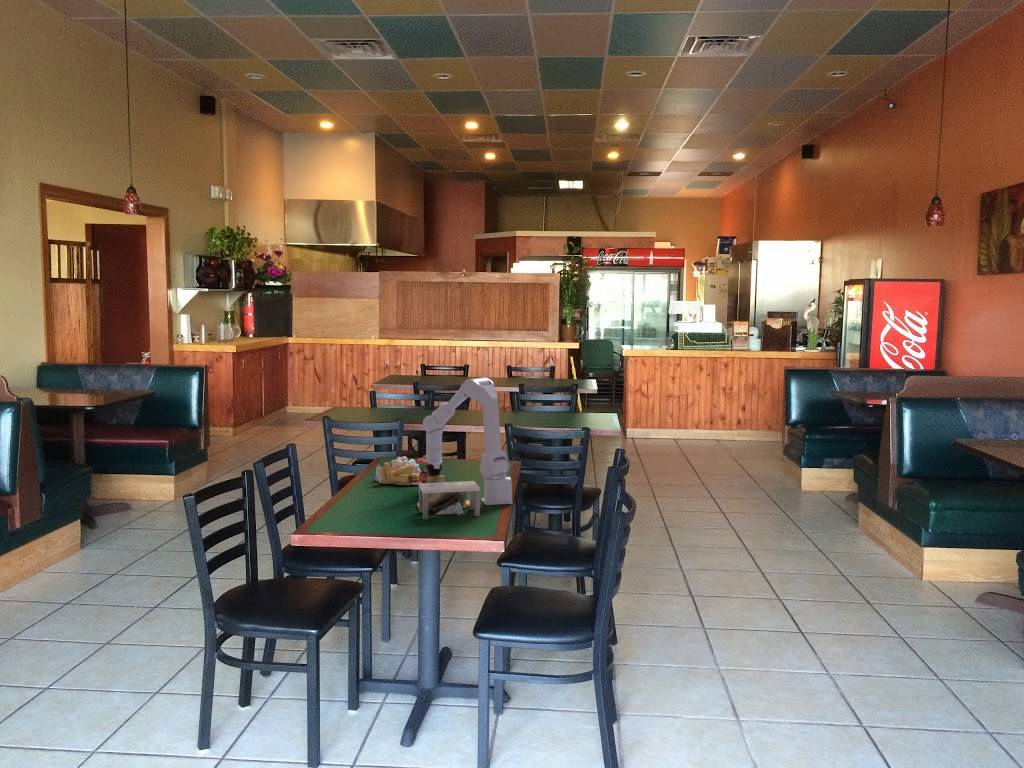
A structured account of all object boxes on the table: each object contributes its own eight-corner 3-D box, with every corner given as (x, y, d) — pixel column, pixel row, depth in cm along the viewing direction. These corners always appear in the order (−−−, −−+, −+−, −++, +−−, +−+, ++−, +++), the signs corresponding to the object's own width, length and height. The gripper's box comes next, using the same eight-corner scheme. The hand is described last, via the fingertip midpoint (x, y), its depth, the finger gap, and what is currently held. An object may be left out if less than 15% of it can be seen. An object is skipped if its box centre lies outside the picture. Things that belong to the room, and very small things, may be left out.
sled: (453, 491, 298) (453, 474, 297) (465, 507, 274) (465, 490, 274) (417, 492, 295) (417, 476, 294) (427, 509, 271) (427, 492, 270)
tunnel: (473, 508, 275) (474, 481, 274) (480, 516, 265) (480, 487, 264) (419, 511, 271) (419, 483, 270) (423, 519, 261) (423, 490, 260)
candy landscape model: (432, 487, 306) (432, 463, 306) (370, 487, 307) (370, 463, 306) (440, 473, 331) (440, 451, 330) (382, 473, 332) (382, 450, 331)
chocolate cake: (429, 518, 265) (455, 493, 263) (426, 507, 271) (452, 483, 270) (449, 534, 269) (475, 510, 267) (445, 522, 275) (471, 499, 274)
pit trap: (469, 503, 282) (469, 500, 282) (472, 507, 276) (472, 504, 276) (417, 506, 277) (417, 502, 277) (419, 510, 272) (419, 506, 272)
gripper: (420, 444, 305) (420, 480, 306) (425, 451, 291) (426, 489, 292) (439, 444, 306) (439, 479, 308) (445, 451, 292) (445, 488, 294)
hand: (434, 484), depth 300 cm, fingers closed
